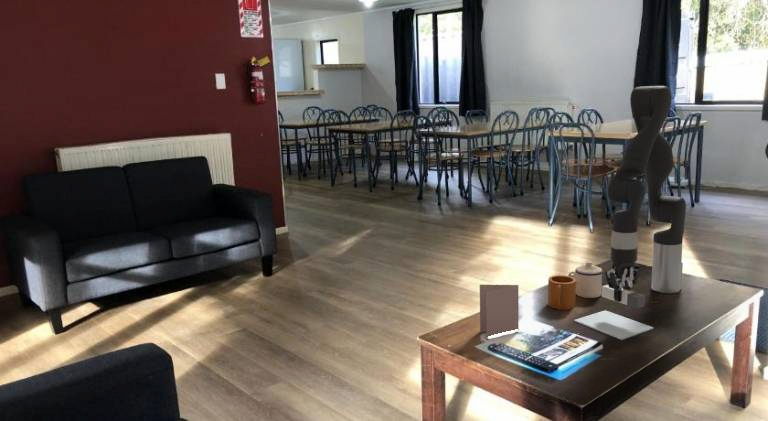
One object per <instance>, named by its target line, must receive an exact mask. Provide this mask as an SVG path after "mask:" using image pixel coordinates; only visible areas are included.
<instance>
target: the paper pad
mask: <svg viewBox="0 0 768 421" xmlns="http://www.w3.org/2000/svg"><path fill="white" fill-rule="evenodd" d="M573 321H574V322H575V323H578V324H580V325H583V326H586V327H588V328H591V329H593V330H596V331H598V332H601V333H603V334H605V335H608V336H611V337H613V338H616V339H619V340H621V341H623V340H625V339H628V338H631V337H634V336H637V335H640V334H643V333H645V332H648V331H652V330H653V329H654V327H653V326H650V325H647V324H645V323H643V322H639V321H637V320H633V319H631V318H627V317H625V316H623V315H621V314H617V313H614V312H611V311H608V310H602V311H599V312H595V313H592V314H589V315H586V316H581V317H579V318H576V319H574V320H573Z"/></svg>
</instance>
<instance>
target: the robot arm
mask: <svg viewBox="0 0 768 421" xmlns="http://www.w3.org/2000/svg"><path fill="white" fill-rule="evenodd" d="M629 99H630V101H629V102H630V109H631V113H632V119H633V120H634V121H633V122H634V124H635V128H636V130H637V134H636V135H635V136H634V137H633V138H632V139H631V140H630V141H629V142H628V144H627V146H626V148H625V150H624V153H623V158H622V161H621V164H620V166H619V168H618V169H617V170H616V172H615V174H614V176H612V178H611V180H610V182H609V183H608V185H607V190H606V195H607V198H608V199H609V200H610V201H611V202H613V203H619V204H620V203H621V204H629V206H628V208H627V209H620V210H617V211H614V213H613V215H612V229H611V230H612V232H611V236H610V237H611V239H610V260H611V261H612V266H611V269H610V270H606V271H605V272H604V275H605V278H606V281H607V285H608V286H609V288H613V289H614V300H615V301H614V302H616V301H618V302H617V303H619V302H621V299H622V288H623V289H626V290H630V291H632V288H633V285H637V282H638V279H639V276H640V272H641V269H642V266H641V265H639V264H636V262H637V261H638V251H639V250H638V246H639V236H638V225H639V222H638V221H639V215H640V212H641V207H642V205H643V202H644V200H645V197H646V194H647V195H648V196H647V197H648V211H649V215H650V218H651V220H652V221H654V222H657V223H658V222H659V223H666V224H670V227H669V228H668V229H665V230H660V231H657V232H655V233H654V234H653V242H652V245H653V246H652V266H651V267H652V270H651V290H652V291H655V292H657V293H661V294H676V293H680V291H681V289H682V285H683V282H682V281H683V269H684V268H683V266H684V265H683V264H684V263H683V262H682V257H683V239H684V232H685V222H686V214H687V203H686V200H685V199H684V198H683V197H681V196H673V195H672V196H671V195H664V194H663V193H662V187H663V185H664V183H665V182H666V180H667V178H668V177H669V176H670V174H671V173H672V171H673V168H674V165H675V164H674V163H675V162H674V160H675V159H674V155H673V154H674V153H673V148H672V146H671V144H670V142H669V140H667V139H666V138H665V136H664V135H663V134H662V133H661V132H660V131H661V129H662V127H663V126H664V123H665V121H666V119H667V117H668V115H669V112H670V109H671V106H672V92H671V89H670V88H669V87H668V86H665V85H649V86H647V85H646V86H637V87H634V88H633V89H632V91H631V93H630V98H629ZM644 174H645V179H646V185H647V186H646V185H645V184H644V182H643V181H641V180H638V179H633V178H638V177H642V176H643V175H644ZM646 187H647V190H646ZM646 191H647V192H646Z"/></svg>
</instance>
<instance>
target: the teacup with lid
mask: <svg viewBox="0 0 768 421" xmlns="http://www.w3.org/2000/svg"><path fill="white" fill-rule="evenodd" d="M572 274H573V275H575V279H576V295H577V296H579V297H580V298H586V299H595V298H599V297H600V296H601V297H602V286H603V285H602V284H603V282H602V280H603V269H602V268H601V267H599V266H596V265H595V264H593V262H592V261H586V262H585V264H582V265H578V266H576V268H575V270H573V271H570V272H569V273H568V274H567V276H570V277H572Z"/></svg>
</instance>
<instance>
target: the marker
mask: <svg viewBox="0 0 768 421" xmlns="http://www.w3.org/2000/svg"><path fill="white" fill-rule="evenodd" d="M601 298H605V299H608V300H611V301H613V302H616V303H619V304H621V305H622V304H623V305H626V306H628V307H632V308H634V309H640V308H643V307H645V305H646V295H645V294H643V293H638V292H635V291H633V290H631V291H630V290H626V289H623V287H622V299H621V302H618V301H615V300H614V289H613V288H609V286H608V284H605V285H602V289H601Z"/></svg>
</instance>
